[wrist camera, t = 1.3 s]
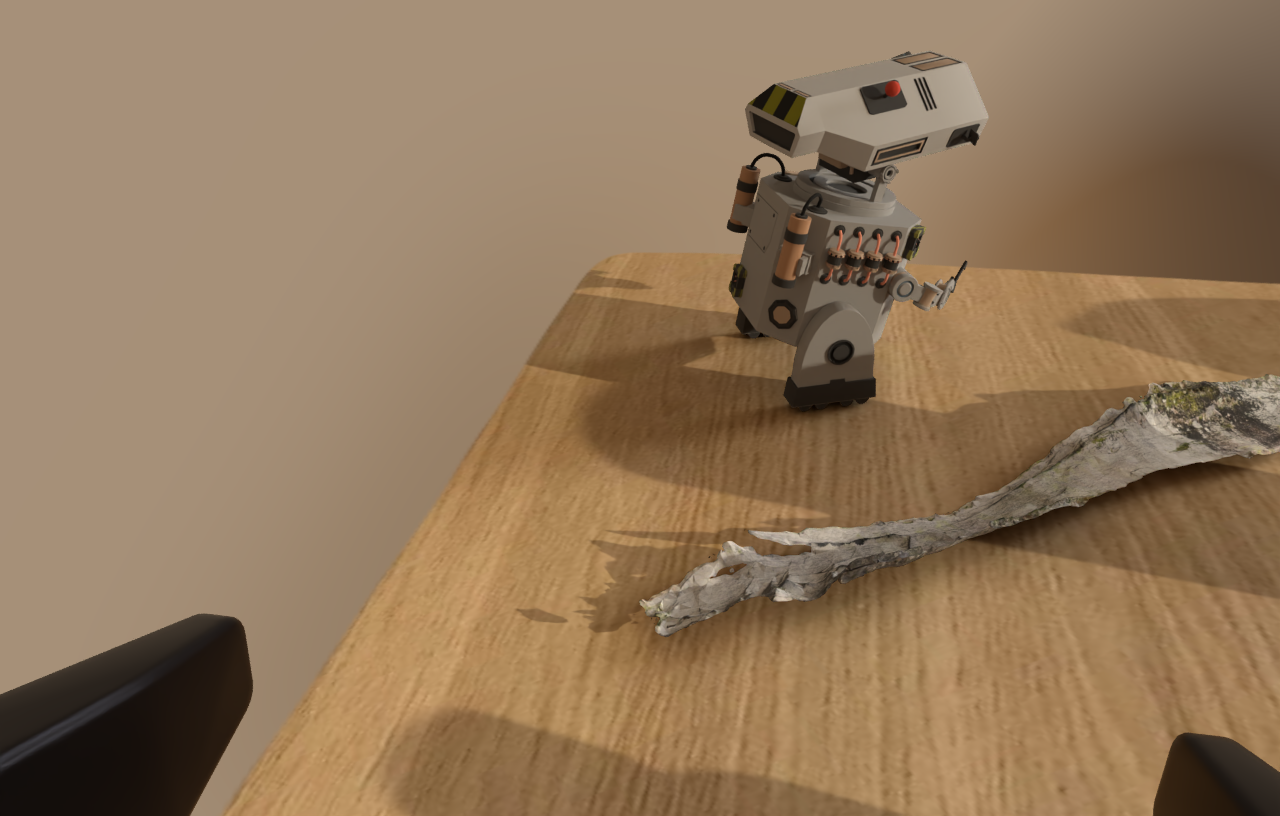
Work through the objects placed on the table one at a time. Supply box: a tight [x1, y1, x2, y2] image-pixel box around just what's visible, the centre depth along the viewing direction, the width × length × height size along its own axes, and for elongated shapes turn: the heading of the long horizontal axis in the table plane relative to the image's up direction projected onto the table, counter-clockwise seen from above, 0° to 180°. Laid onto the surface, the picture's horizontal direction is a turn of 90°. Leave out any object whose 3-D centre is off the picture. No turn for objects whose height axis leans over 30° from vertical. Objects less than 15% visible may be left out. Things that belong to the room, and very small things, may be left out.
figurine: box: [727, 51, 989, 411], centre depth 43 cm, size 9×12×15 cm
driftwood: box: [639, 374, 1280, 637], centre depth 37 cm, size 37×2×5 cm
